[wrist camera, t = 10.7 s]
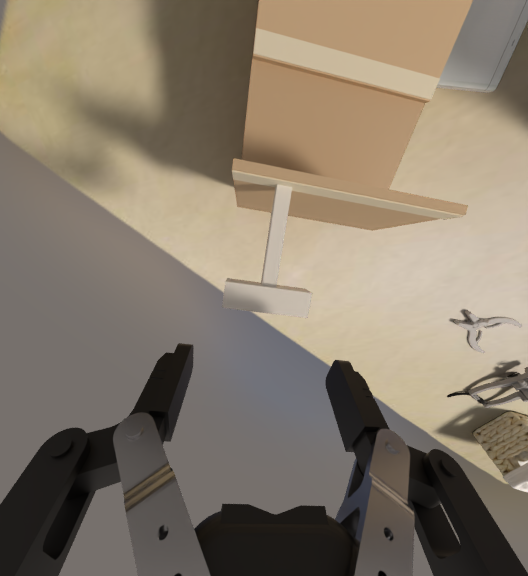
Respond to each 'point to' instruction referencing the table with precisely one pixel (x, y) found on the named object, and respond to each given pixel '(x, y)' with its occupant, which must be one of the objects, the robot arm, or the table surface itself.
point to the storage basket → (507, 447)
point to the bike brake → (523, 383)
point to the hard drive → (484, 45)
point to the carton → (344, 82)
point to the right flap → (321, 207)
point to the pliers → (476, 324)
